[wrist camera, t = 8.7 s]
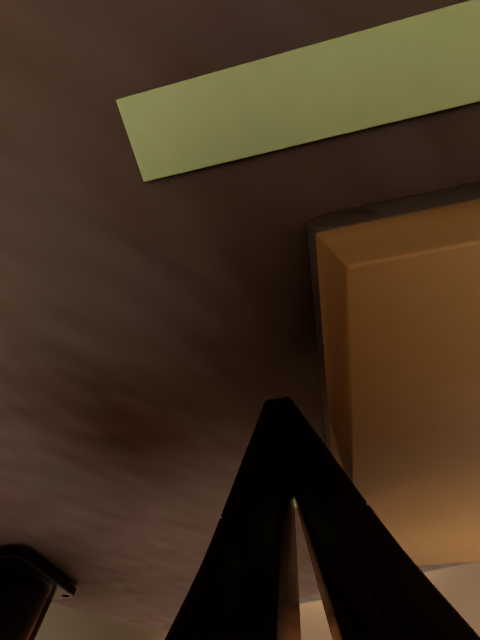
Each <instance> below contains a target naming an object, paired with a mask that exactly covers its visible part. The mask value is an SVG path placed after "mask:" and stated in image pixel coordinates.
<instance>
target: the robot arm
mask: <svg viewBox="0 0 480 640" xmlns="http://www.w3.org/2000/svg"><path fill="white" fill-rule="evenodd" d="M294 499H295V503H296V507H297V510H298V514H299V518H300V521H301V525H302V529H303V532H304V536H305V540H306V544H307V547H308V551H309V555H310V558H311V562H312V566H313V569H314V573H315V577H316V580H317V584H318V588H319V592H320V595H321V599H322V603H323V606H324V610H325V613H326V617H327V621H328V624H329V628H330V632H331V636H332V639H333V640H480V637H479V636H478V635H477V633H476V632H475V631H474V630H473V629H472V628H471V627H470V626H469V624H468V623H467V622H466V621H465V620H464V619H463V618H462V617H461V615H460V614H459V613H458V612H457V611H456V610H455V609H454V608H453V606H452V605H451V604H450V603H449V602H448V601H447V600H446V598H445V597H444V596H443V595H442V594H441V593H440V592H439V591H438V590H437V588H436V587H435V586H434V585H433V584H432V583H431V581H430V580H429V579H428V578H427V577H426V576H425V575H424V573H423V572H422V571H421V570H420V569H419V567H418V566H417V565H416V564H415V563H414V562H413V560H412V559H411V558H410V557H409V556H408V554H407V553H406V552H405V551H404V550H403V549H402V547H401V546H400V545H399V543H398V542H397V541H396V540H395V538H394V537H393V536H392V534H391V533H390V532H389V531H388V529H387V528H386V527H385V525H384V524H383V523H382V521H381V520H380V519H379V517H378V516H377V515H376V513H375V512H374V511H373V509H372V508H371V507H370V505H367V502H366V500H365V499H364V497H363V496H362V495H361V493H360V492H359V491H358V489H357V488H356V486H355V485H354V484H353V482H352V481H351V480H350V478H349V477H348V476H347V474H346V473H345V471H344V470H343V469H342V467H341V466H340V465H339V463H338V462H337V461H336V459H335V458H334V457H333V455H332V454H331V452H330V451H329V450H328V448H327V447H326V446H325V444H324V443H323V442H322V440H321V439H320V438H319V436H318V435H317V433H316V432H315V431H314V429H313V428H312V427H311V425H310V424H309V423H308V421H307V420H306V418H305V417H304V416H303V414H302V413H301V412H300V410H299V409H298V408H297V406H296V405H295V404H294V402H293V401H292V399H291V398H290V397H283V398H275V399H268V400H266V401H265V403H264V405H263V408H262V410H261V413H260V416H259V418H258V421H257V423H256V426H255V429H254V431H253V434H252V436H251V439H250V442H249V444H248V447H247V449H246V452H245V455H244V457H243V460H242V462H241V465H240V468H239V470H238V473H237V475H236V478H235V481H234V483H233V486H232V488H231V491H230V494H229V496H228V499H227V502H226V504H225V507H224V509H223V512H222V515H221V517H222V518H221V519H219V522H218V525H217V527H216V530H215V532H214V535H213V538H212V540H211V542H210V545H209V547H208V550H207V552H206V554H205V557H204V559H203V562H202V564H201V566H200V568H199V570H198V572H197V575H196V577H195V579H194V581H193V583H192V585H191V587H190V589H189V592H188V594H187V596H186V598H185V600H184V602H183V604H182V606H181V608H180V610H179V612H178V614H177V616H176V618H175V620H174V622H173V624H172V626H171V628H170V630H169V632H168V634H167V636H166V638H165V640H301V629H300V610H299V588H298V568H297V547H296V527H295V507H294ZM76 589H77V588H76V587H75V586H73V585H72V584H71V583H69V582H68V581H67V580H65V579H64V578H63V577H61V576H60V575H59V574H58V573H56V572H55V571H54V570H52V569H51V568H50V567H48V566H47V565H46V564H44V563H43V562H42V561H40V560H39V559H38V558H36V557H35V556H34V555H33V554H31V553H30V552H28V551H27V550H24V549H4V550H0V640H34V639H35V637H36V635H37V633H38V630H39V628H40V626H41V623H42V621H43V619H44V617H45V614H46V612H47V610H48V608H49V605H50V603H51V601H52V599H70V598H73V597H74V594H75V592H76Z"/></svg>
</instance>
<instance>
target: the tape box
mask: <svg viewBox="0 0 480 640" xmlns="http://www.w3.org/2000/svg"><path fill="white" fill-rule="evenodd" d="M116 102H117V105H118V108H119V111H120V114H121V117H122V120H123V123H124V126H125V129H126V132H127V134H128V137H129V140H130V143H131V146H132V149H133V152H134V155H135V158H136V161H137V164H138V167H139V170H140V173H141V176H142V178H143V181H144V182H147V181H151V180H155V179H159V178H163V177H168V176H172V175H176V174H180V173H184V172H188V171H193V170H197V169H201V168H205V167H209V166H213V165H218V164H222V163H226V162H230V161H234V160H238V159H243V158H247V157H251V156H255V155H259V154H263V153H267V152H272V151H276V150H280V149H284V148H288V147H292V146H297V145H301V144H305V143H309V142H313V141H317V140H322V139H326V138H330V137H334V136H338V135H342V134H347V133H351V132H355V131H359V130H363V129H367V128H372V127H376V126H380V125H384V124H388V123H392V122H396V121H401V120H405V119H409V118H413V117H417V116H421V115H426V114H430V113H434V112H438V111H442V110H446V109H451V108H455V107H459V106H463V105H467V104H471V103H476V102H480V0H469V1H466V2H462V3H458V4H455V5H451V6H448V7H444V8H441V9H437V10H433V11H430V12H426V13H423V14H419V15H416V16H412V17H409V18H405V19H401V20H398V21H394V22H391V23H387V24H384V25H380V26H377V27H373V28H369V29H366V30H362V31H359V32H355V33H352V34H348V35H344V36H341V37H337V38H334V39H330V40H327V41H323V42H320V43H316V44H312V45H309V46H305V47H302V48H298V49H295V50H291V51H288V52H284V53H280V54H277V55H273V56H270V57H266V58H263V59H259V60H255V61H252V62H248V63H245V64H241V65H238V66H234V67H231V68H227V69H223V70H220V71H216V72H213V73H209V74H206V75H202V76H199V77H195V78H191V79H188V80H184V81H181V82H177V83H174V84H170V85H166V86H163V87H159V88H156V89H152V90H149V91H145V92H142V93H138V94H134V95H131V96H127V97H124V98H120V99H117V100H116ZM294 507H295V508H297V507H296V503H295V499H294Z"/></svg>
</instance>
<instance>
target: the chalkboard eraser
mask: <svg viewBox="0 0 480 640" xmlns="http://www.w3.org/2000/svg"><path fill="white" fill-rule="evenodd" d="M307 234H308V246H309V257H310V269H311V280H312V291H313V303H314V314H315V326H316V337H317V348H318V360H319V371H320V383H321V394H322V405H323V417H324V428H325V440H326V447H327V448H328V450H329V451H330V452H331V454H332V455H333V457H334V458H335V459H336V461H337V462H338V463H339V465H340V466H341V467H342V469H343V470H344V471H345V473H346V474H347V476H348V477H349V478H350V480H351V481H352V482H353V484H354V485H355V486H356V488H357V489H358V491H359V492H360V493H361V495H362V496H363V497H364V499H365V500H366V502H367V505H370V507H371V508H372V509H373V511H374V512H375V513H376V515H377V516H378V517H379V519H380V520H381V521H382V523H383V524H384V525H385V527H386V528H387V529H388V531H389V532H390V533H391V534H392V536H393V537H394V538H395V540H396V541H397V542H398V543H399V545H400V546H401V547H402V549H403V550H404V551H405V552H406V553H407V554H408V556H409V557H410V558H411V559H412V560H413V562H414V563H415V564H416V565H433V564H449V563H466V562H480V181H478V182H474V183H469V184H464V185H460V186H455V187H450V188H446V189H441V190H436V191H432V192H427V193H422V194H418V195H413V196H408V197H403V198H399V199H394V200H389V201H385V202H380V203H375V204H371V205H366V206H361V207H357V208H352V209H347V210H343V211H337V212H332V213H328V214H324V215H321V216H318V217H316V218H314V219H312V220H310V221H309V222H308V224H307Z"/></svg>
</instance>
